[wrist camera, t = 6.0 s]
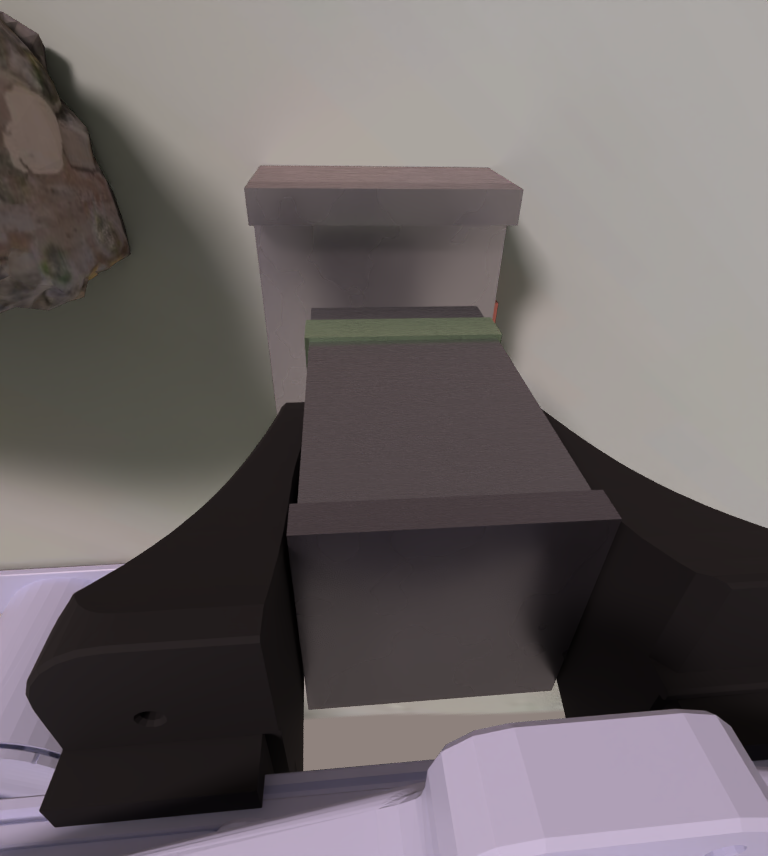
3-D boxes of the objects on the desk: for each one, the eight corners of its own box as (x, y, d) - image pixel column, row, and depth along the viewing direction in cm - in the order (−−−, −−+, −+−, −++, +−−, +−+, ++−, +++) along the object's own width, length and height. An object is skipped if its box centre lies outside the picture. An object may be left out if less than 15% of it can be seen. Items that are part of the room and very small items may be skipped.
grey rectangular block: (462, 440, 16) (551, 690, 10) (316, 445, 16) (308, 709, 9) (481, 302, 14) (621, 518, 7) (307, 304, 13) (286, 535, 7)
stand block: (464, 385, 23) (486, 437, 20) (284, 390, 23) (276, 445, 19) (492, 167, 18) (528, 189, 15) (260, 165, 17) (244, 187, 14)
